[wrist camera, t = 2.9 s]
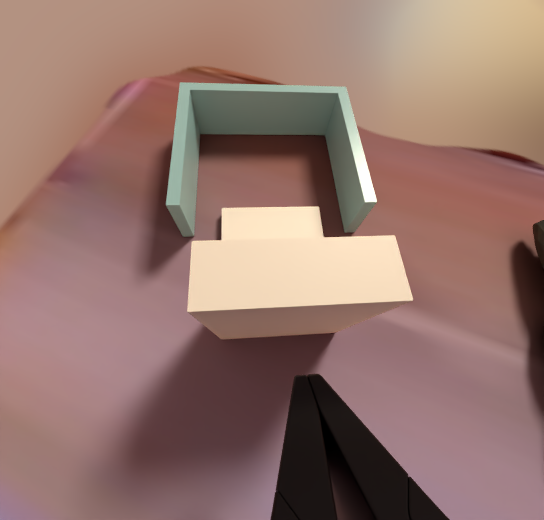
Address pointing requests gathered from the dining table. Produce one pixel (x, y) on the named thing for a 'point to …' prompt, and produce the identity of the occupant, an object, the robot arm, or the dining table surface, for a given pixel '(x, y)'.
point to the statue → (539, 240)
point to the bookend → (291, 276)
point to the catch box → (268, 121)
